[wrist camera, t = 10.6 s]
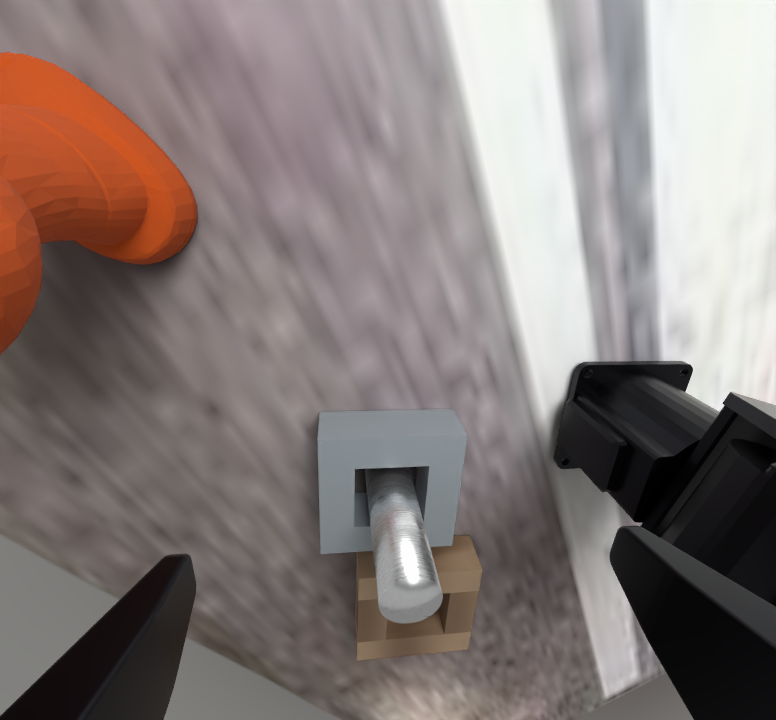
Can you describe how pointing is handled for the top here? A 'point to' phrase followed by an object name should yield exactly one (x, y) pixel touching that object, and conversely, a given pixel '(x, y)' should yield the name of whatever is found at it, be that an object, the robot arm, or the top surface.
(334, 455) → the gray square ring
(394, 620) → the silver metal rod
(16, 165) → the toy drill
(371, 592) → the socket block
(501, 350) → the top surface
